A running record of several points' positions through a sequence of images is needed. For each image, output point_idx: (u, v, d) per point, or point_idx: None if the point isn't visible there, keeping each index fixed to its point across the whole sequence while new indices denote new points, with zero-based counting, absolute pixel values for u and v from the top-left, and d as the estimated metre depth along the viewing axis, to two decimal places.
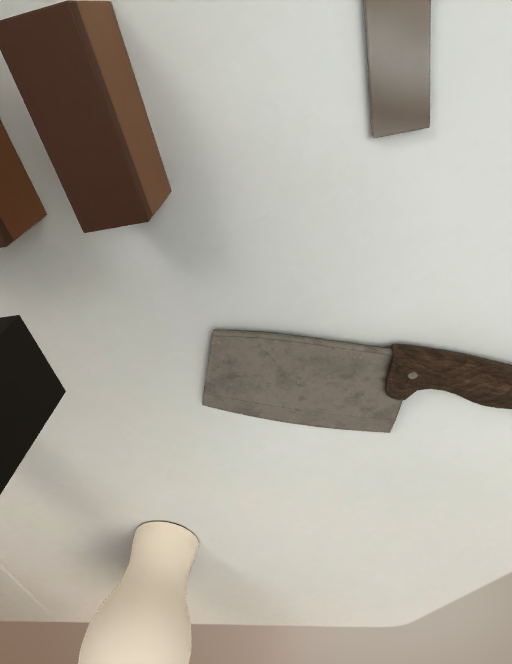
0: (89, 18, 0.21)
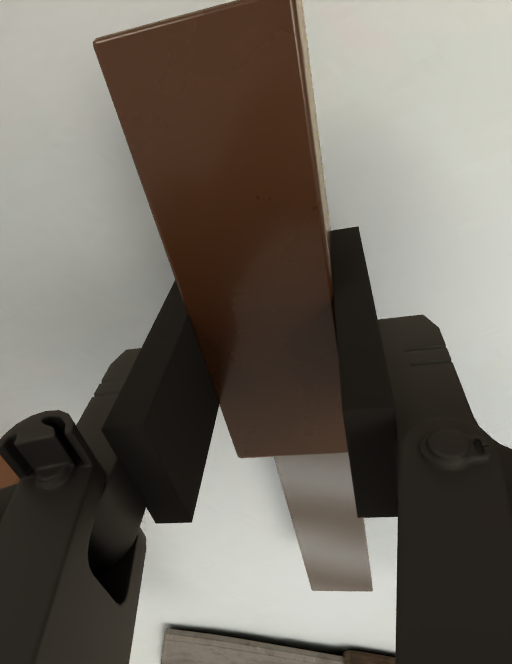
0: None
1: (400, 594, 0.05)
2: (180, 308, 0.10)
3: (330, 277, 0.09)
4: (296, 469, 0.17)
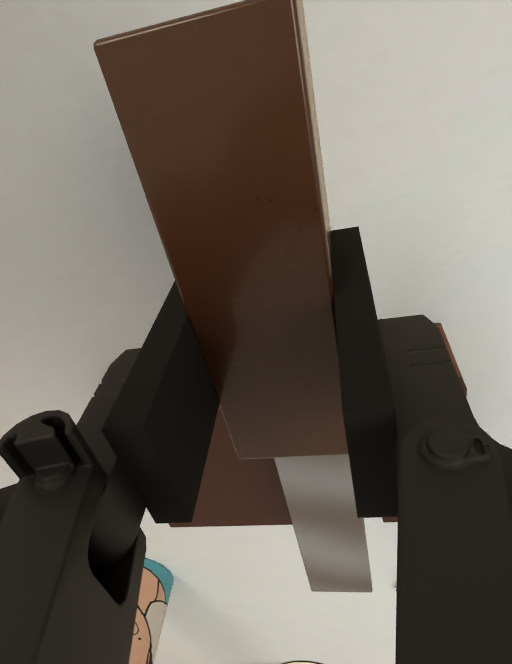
0: None
1: (400, 594, 0.05)
2: (180, 308, 0.10)
3: (330, 279, 0.09)
4: (296, 470, 0.17)
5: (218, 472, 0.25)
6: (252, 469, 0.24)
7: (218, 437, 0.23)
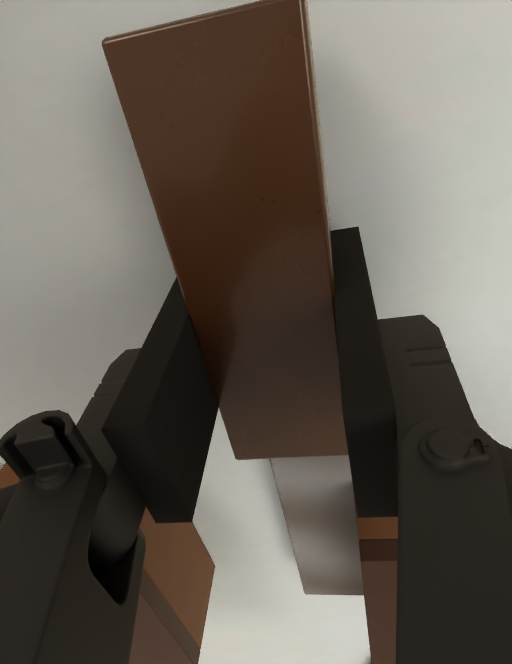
0: None
1: (400, 594, 0.05)
2: (180, 308, 0.10)
3: (332, 280, 0.09)
4: (292, 472, 0.17)
5: None
6: None
7: None
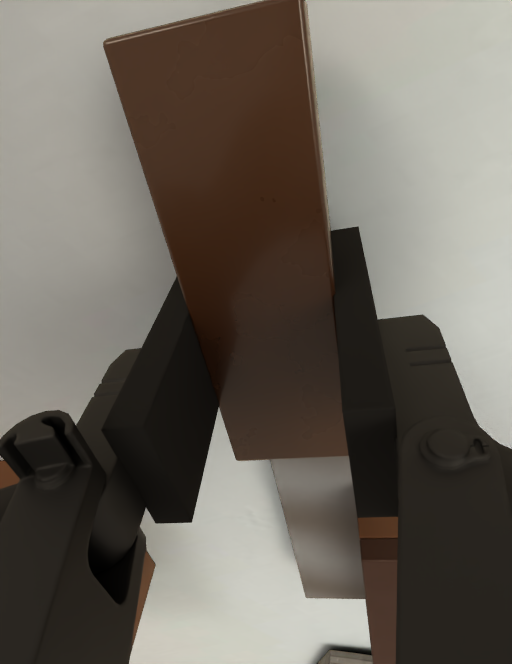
0: None
1: (400, 594, 0.05)
2: (180, 308, 0.10)
3: (332, 279, 0.09)
4: (292, 474, 0.17)
5: None
6: None
7: None
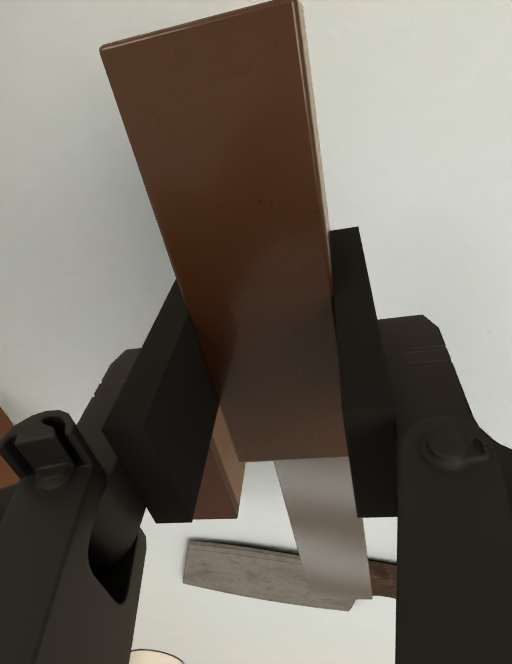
0: None
1: (400, 594, 0.05)
2: (180, 308, 0.10)
3: (331, 280, 0.09)
4: (296, 475, 0.17)
5: None
6: None
7: None
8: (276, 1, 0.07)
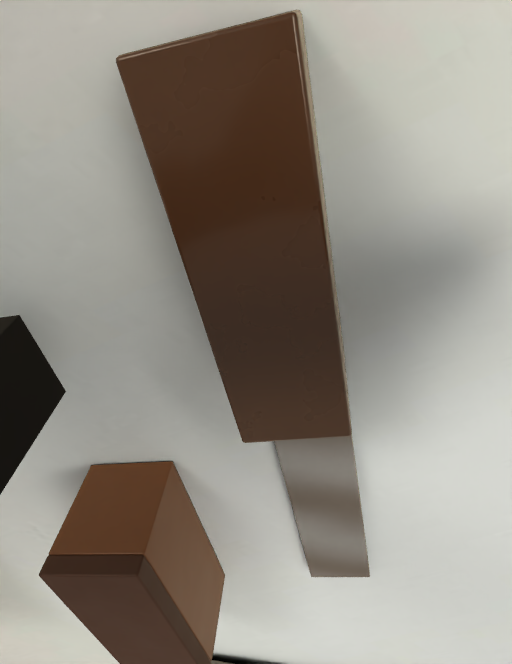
0: (155, 544, 0.17)
1: None
2: None
3: (329, 271, 0.10)
4: (296, 457, 0.18)
5: None
6: None
7: None
8: (278, 16, 0.07)
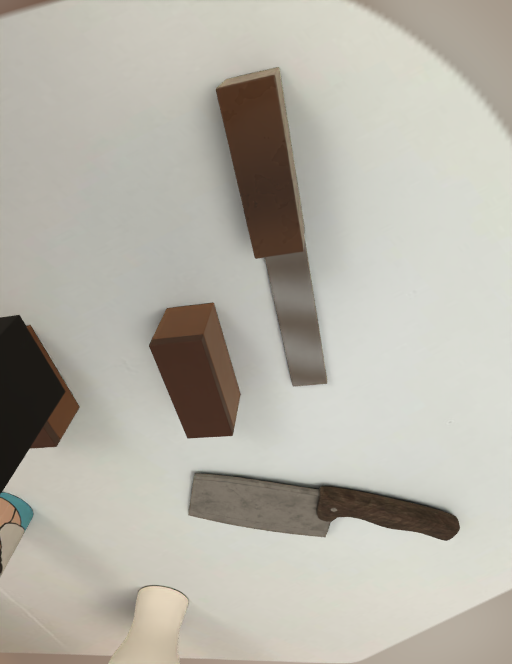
0: (207, 335, 0.33)
1: None
2: None
3: (289, 167, 0.25)
4: (282, 291, 0.34)
5: None
6: None
7: None
8: (269, 76, 0.23)
